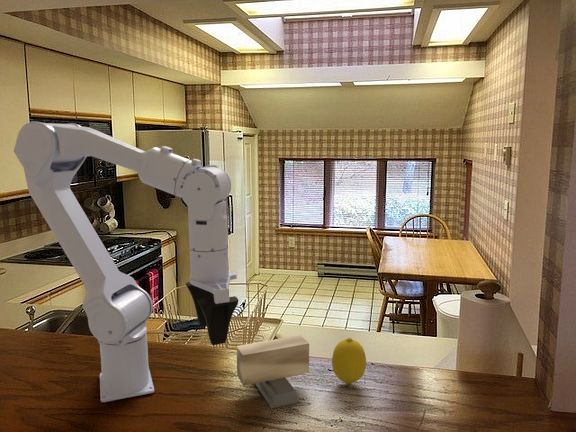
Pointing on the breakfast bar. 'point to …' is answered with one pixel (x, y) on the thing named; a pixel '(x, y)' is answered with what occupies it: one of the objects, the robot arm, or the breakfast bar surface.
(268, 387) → the stepped block
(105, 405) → the breakfast bar surface
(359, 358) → the lemon
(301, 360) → the bar
